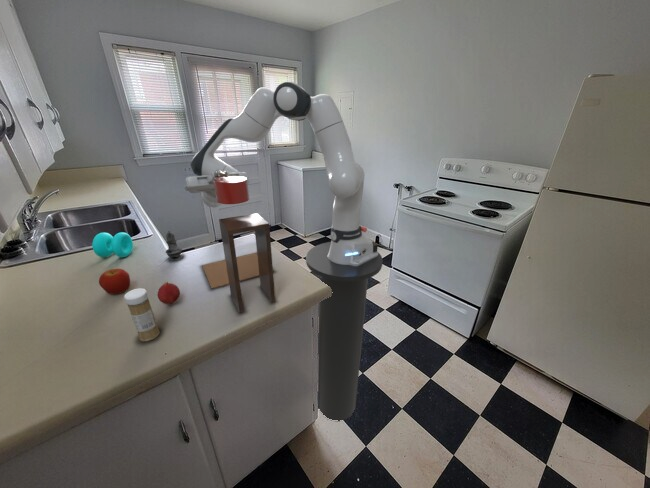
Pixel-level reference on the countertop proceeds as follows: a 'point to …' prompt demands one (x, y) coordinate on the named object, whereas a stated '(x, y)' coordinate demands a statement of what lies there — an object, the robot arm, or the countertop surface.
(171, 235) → the grey statuette
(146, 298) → the spice jar
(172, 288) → the onion
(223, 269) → the mat
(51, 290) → the countertop surface
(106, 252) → the donuts
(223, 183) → the saucepan
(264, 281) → the shelf
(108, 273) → the apple
